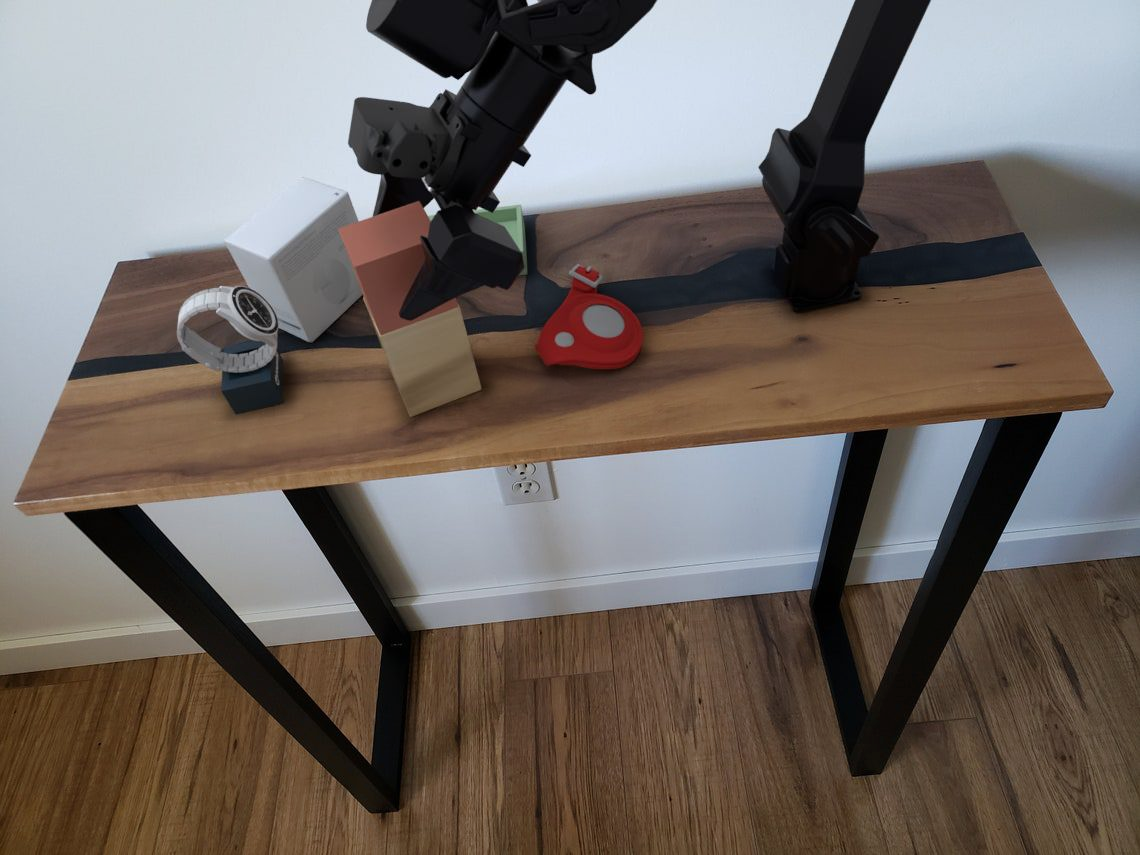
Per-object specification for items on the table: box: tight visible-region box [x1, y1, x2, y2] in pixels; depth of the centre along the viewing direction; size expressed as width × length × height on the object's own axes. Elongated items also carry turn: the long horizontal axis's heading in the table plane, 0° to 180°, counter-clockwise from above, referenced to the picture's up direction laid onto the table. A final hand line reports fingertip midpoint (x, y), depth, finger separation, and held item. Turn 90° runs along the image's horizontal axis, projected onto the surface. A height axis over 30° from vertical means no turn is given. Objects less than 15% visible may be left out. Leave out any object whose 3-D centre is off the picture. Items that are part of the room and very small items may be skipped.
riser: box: [362, 296, 483, 418], centre depth 73 cm, size 5×7×10 cm
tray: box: [428, 204, 529, 276], centre depth 87 cm, size 10×7×3 cm
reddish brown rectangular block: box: [338, 201, 459, 335], centre depth 67 cm, size 5×6×7 cm
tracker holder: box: [533, 263, 644, 370], centre depth 78 cm, size 12×4×10 cm
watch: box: [176, 285, 284, 415], centre depth 75 cm, size 6×8×11 cm
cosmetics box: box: [223, 176, 363, 343], centre depth 82 cm, size 10×6×10 cm, turn 147°
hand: (387, 281), depth 67 cm, fingers open, 9 cm apart
